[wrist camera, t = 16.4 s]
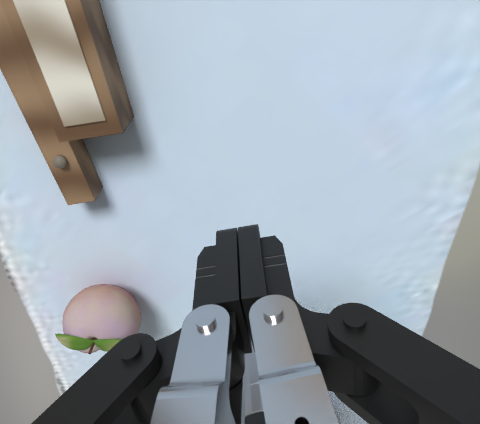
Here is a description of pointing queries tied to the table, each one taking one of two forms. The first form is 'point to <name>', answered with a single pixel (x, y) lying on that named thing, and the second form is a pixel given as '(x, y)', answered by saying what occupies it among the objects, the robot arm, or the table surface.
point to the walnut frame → (71, 65)
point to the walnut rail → (47, 126)
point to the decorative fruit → (99, 319)
